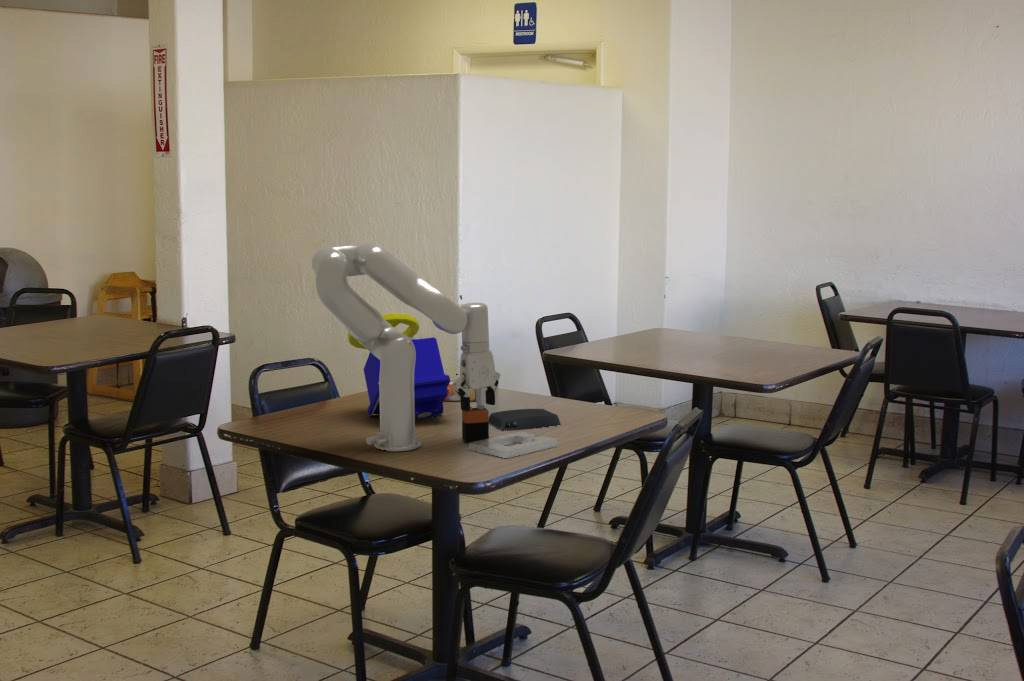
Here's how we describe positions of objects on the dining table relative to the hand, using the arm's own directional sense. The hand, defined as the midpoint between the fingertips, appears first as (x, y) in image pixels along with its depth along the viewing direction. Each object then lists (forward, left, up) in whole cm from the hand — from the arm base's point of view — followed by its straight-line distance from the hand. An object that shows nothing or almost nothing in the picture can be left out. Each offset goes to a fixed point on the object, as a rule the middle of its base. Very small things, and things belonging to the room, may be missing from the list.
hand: (478, 407), depth 312 cm
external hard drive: (+24, +6, -10) cm, 27 cm away
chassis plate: (0, -14, -10) cm, 17 cm away
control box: (+4, +40, -10) cm, 42 cm away
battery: (-1, 0, -10) cm, 10 cm away
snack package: (+35, +50, -10) cm, 61 cm away
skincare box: (+26, +23, -10) cm, 36 cm away
